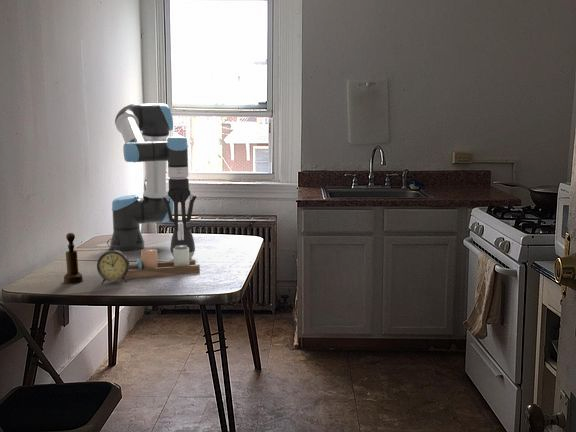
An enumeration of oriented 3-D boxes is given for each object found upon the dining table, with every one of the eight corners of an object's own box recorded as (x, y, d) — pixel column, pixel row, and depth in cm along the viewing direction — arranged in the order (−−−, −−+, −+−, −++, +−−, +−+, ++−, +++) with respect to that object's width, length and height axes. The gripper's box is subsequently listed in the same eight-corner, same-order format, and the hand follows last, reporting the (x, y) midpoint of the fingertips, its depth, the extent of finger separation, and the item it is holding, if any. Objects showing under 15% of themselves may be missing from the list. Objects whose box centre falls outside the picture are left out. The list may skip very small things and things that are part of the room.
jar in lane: (141, 272, 263) (140, 249, 261) (157, 271, 265) (156, 248, 263) (142, 276, 257) (141, 252, 256) (159, 274, 259) (158, 251, 258)
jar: (172, 270, 266) (172, 245, 265) (188, 268, 268) (187, 244, 267) (175, 273, 261) (174, 248, 259) (191, 272, 263) (190, 247, 261)
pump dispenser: (191, 262, 279) (189, 225, 277) (167, 261, 282) (165, 224, 279) (199, 256, 289) (198, 221, 287) (176, 256, 291) (174, 220, 289)
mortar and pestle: (63, 280, 252) (60, 232, 250) (81, 278, 255) (78, 230, 252) (65, 284, 246) (61, 235, 244) (83, 282, 249) (80, 233, 246)
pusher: (121, 272, 261) (120, 259, 260) (140, 271, 263) (139, 258, 262) (122, 277, 254) (121, 263, 253) (142, 275, 256) (141, 262, 256)
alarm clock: (97, 285, 245) (95, 240, 242) (100, 281, 250) (97, 237, 248) (128, 284, 246) (126, 239, 243) (130, 280, 251) (128, 236, 249)
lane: (119, 273, 262) (119, 265, 262) (194, 266, 271) (194, 259, 271) (121, 279, 253) (121, 271, 252) (199, 272, 261) (199, 265, 261)
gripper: (161, 179, 253) (164, 242, 257) (198, 178, 257) (200, 240, 261) (159, 177, 260) (161, 238, 264) (194, 176, 264) (196, 236, 268)
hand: (180, 239), depth 263 cm, fingers closed
